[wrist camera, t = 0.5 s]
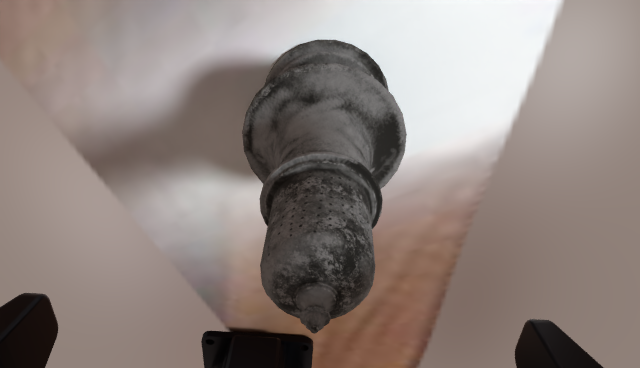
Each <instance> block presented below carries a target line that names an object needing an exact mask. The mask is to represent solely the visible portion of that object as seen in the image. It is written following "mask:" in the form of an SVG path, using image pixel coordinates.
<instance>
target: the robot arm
mask: <svg viewBox="0 0 640 368" xmlns="http://www.w3.org/2000/svg"><path fill="white" fill-rule="evenodd" d="M57 333H58V323H57V320H56V317H55V314H54V311H53V308H52V305H51V302H50V300H49V298H48V297H47V296H46V295H45V294H36V293H24V294H21V295H19V296H17V297H15V298H14V299H12V300H11V301H9V302H8V303H6V304H5V305H3V306H1V307H0V368H45V366H46V364H47V361H48V358H49V356H50V353H51V351H52V348H53V345H54V343H55V340H56V337H57ZM202 349H203V359H204V367H205V368H311V367H312V354H313V341H312V339H310V338H308V337H300V336H284V335H269V334H253V333H238V332H221V331H207V332H205V333H204V334H203V337H202ZM515 361H516V366H517V368H603V367H602V366H601V365H600V364H599V363H598V362H596V361H595V360H594V359H593V358H592V357H591V356H590V355H589V354H588V353H587V352H585V351H584V350H583V349H582V348H581V347H580V346H579V345H578V344H577V343H575V342H574V341H573V340H572V339H571V338H570V337H569V336H568V335H566V334H565V333H564V332H563V331H562V330H561V329H560V328H559V327H558V326H557V325H555V324H554V323H553V322H551V321H549V320H535V319H530V320H528V321H527V322H526V323H525V325H524V327H523V330H522V333H521V335H520V338H519V340H518V343H517V346H516V349H515Z"/></svg>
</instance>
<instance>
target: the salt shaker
mask: <svg viewBox="0 0 640 368" xmlns="http://www.w3.org/2000/svg"><path fill="white" fill-rule="evenodd" d="M242 134H243V144H244V152H245V154H246V156H247V159H248V161H249V164H250V166H251V169H252V170H253V171H254V172H255V174H256V175H257V176H258V178H259V179H260V180H261V182H262V183H263V188H262V192H261V196H260V209H261V214H262V216H263V219H264V221H265V223H266V225H267V226H268V228H267V233H266V238H265V244H264V249H263V254H262V259H261V264H260V267H261V279H262V285H263V287H264V289H265V292H266V294H267V295H268V296H269V297H270V299H271V300H272V301H273V302H274V303H275V304H276V305H277V306H278V307H279V308H280V309H281V310H283V311H284V312H286V313H287V314H290V315H292V316H295V317H297V318H300V320H301V323H303V324H304V325H306V328H307V329H309V330H310V331H311V332H312V333H317V332H318V331H319V330H321V329H322V328H323V327H324V326H325V325H327V324H328V323H329V321H330V319H333V318H336V317H339V316H342V315H345V314H346V313H348V312H349V311H351V310H353V309H354V308H355V307H356V306H358V305H359V304H360V303H361V302H362V301H363V300H364V299H365V297H366V296H367V295H368V293H369V291H370V289H371V287H372V284H373V280H374V273H375V258H374V247H373V236H372V229H373V228H374V226H375V225H376V224H377V221H378V219H379V217H380V214H381V210H382V195H381V190H380V189H381V188H382V187H384V186H385V185H386V184H387V183H388V181H389V180H390V179H391V178H392V176H393V175H394V174H395V172H396V171H397V170H398V167H399V165H400V162H401V160H402V158H403V155H404V152H405V143H406V129H405V124H404V119H403V114H402V112H401V110H400V108H399V106H398V105H397V103H396V101H395V99H394V97H393V95H392V94H391V93H390V92H389V91H388V86H387V82H386V79H385V77H384V75H383V73H382V71H381V69H380V67H379V65H378V64H377V63H376V62H375V61H374V60H373V59H372V58H371V57H370V56H369V55H368V54H367V53H365V52H364V51H362V50H360V49H359V48H357V47H355V46H354V45H352V44H348V43H344V42H341V41H337V40H315V41H311V42H307V43H303V44H300V45H298V46H297V47H295V48H293V49H291V50H290V51H288V52H286V53H285V54H284V55H283V56H282V57H281V58H280V59H279V60H278V61H277V62H276V63H275V64H274V66H273V68H272V70H271V71H270V73H269V75H268V77H267V79H266V83H265V86H264V87H263V88H262V89H261V90H260V91H259V92H258V93H257V94H256V95H255V97H254V99H253V101H252V103H251V105H250V107H249V108H248V110H247V112H246V116H245V121H244V126H243V131H242Z"/></svg>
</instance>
